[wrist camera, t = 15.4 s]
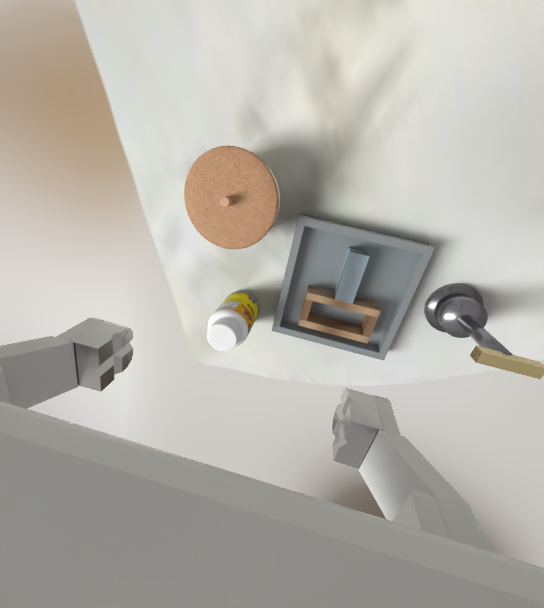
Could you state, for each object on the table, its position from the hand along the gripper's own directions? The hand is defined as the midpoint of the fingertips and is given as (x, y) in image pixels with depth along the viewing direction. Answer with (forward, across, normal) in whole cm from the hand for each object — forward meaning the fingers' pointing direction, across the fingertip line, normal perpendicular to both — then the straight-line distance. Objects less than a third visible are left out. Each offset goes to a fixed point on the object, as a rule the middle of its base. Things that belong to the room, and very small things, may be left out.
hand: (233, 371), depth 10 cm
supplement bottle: (+31, +6, +13) cm, 34 cm away
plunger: (+31, -23, +5) cm, 39 cm away
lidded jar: (+31, +8, -3) cm, 32 cm away
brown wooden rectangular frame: (+30, -8, +6) cm, 32 cm away
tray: (+31, -8, +6) cm, 33 cm away
